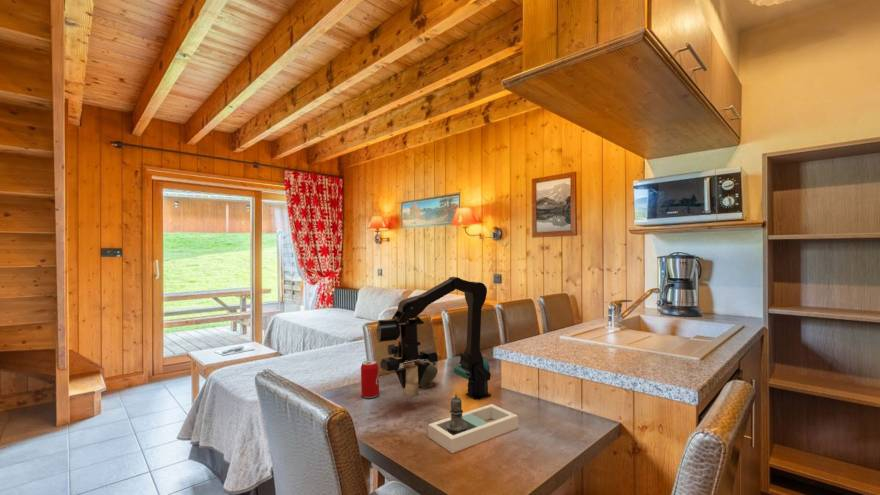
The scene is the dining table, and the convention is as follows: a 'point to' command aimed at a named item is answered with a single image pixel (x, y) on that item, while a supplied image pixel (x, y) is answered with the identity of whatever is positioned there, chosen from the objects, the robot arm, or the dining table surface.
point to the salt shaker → (456, 417)
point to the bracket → (461, 372)
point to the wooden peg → (411, 381)
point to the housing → (474, 428)
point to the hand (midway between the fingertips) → (410, 386)
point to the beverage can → (370, 379)
